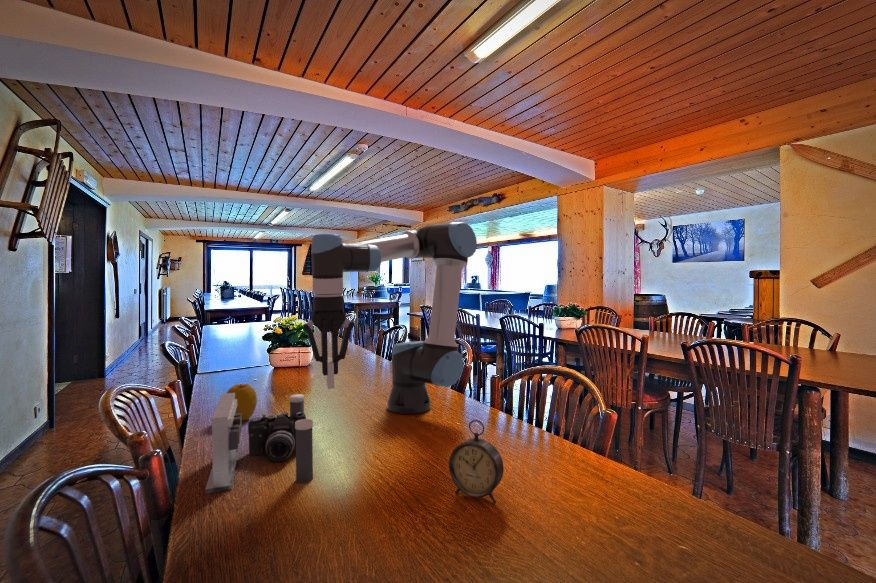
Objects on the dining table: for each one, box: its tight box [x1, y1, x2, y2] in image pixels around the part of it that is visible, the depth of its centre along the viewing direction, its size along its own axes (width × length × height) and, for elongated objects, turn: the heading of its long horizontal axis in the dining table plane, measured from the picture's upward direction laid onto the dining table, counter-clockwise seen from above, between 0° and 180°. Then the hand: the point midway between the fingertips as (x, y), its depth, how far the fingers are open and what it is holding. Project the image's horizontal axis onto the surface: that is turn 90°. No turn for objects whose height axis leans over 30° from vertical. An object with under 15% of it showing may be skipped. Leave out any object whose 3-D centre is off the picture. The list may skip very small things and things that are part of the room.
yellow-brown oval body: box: [226, 383, 258, 422], centre depth 135 cm, size 10×10×12 cm
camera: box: [247, 411, 307, 462], centre depth 108 cm, size 14×11×10 cm
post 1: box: [289, 393, 305, 417], centre depth 115 cm, size 4×4×13 cm
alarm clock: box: [448, 419, 505, 505], centre depth 88 cm, size 11×5×16 cm, turn 62°
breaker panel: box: [204, 392, 243, 495], centre depth 99 cm, size 6×20×16 cm, turn 22°
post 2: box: [295, 418, 314, 484], centre depth 95 cm, size 4×4×13 cm
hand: (330, 387), depth 108 cm, fingers closed
